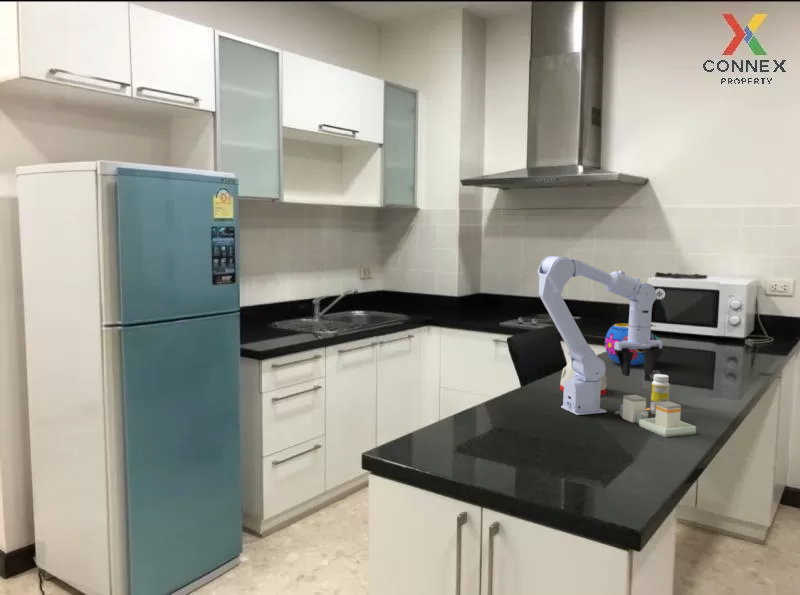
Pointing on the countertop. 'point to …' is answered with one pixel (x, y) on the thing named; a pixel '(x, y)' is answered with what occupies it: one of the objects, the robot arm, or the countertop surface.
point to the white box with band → (667, 415)
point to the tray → (682, 430)
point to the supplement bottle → (660, 388)
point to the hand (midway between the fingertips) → (637, 374)
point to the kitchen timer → (569, 374)
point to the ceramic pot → (621, 334)
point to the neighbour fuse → (633, 407)
